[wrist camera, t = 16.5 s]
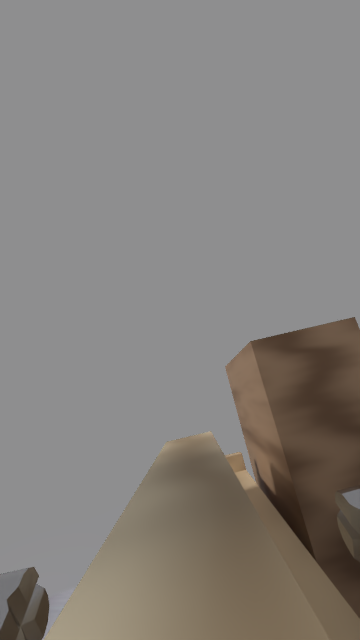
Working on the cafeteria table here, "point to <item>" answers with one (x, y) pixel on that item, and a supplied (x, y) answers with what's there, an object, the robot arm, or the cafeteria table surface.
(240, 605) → the maple batten
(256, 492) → the oak stand
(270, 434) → the walnut block
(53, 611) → the cafeteria table surface
